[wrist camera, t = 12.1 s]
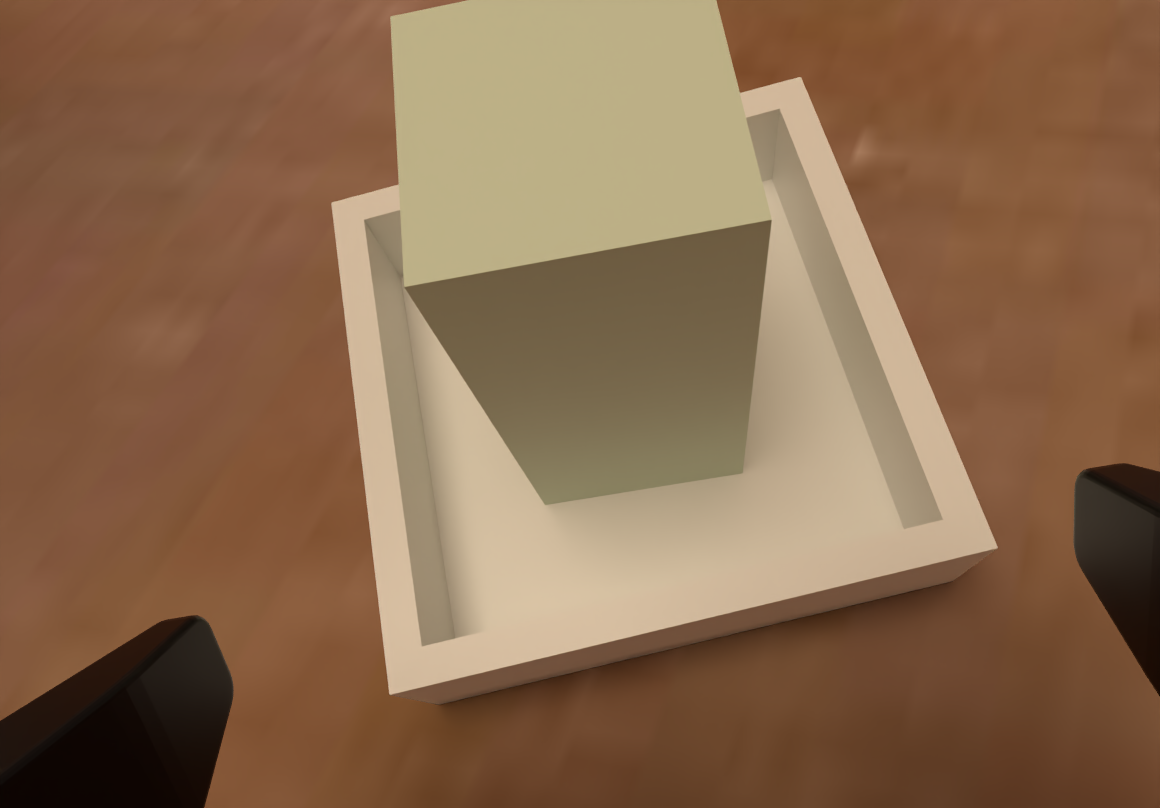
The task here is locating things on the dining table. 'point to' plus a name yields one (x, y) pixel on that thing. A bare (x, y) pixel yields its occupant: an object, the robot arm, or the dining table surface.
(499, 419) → the pale green tall block
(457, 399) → the box
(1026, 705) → the dining table surface
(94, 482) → the dining table surface
